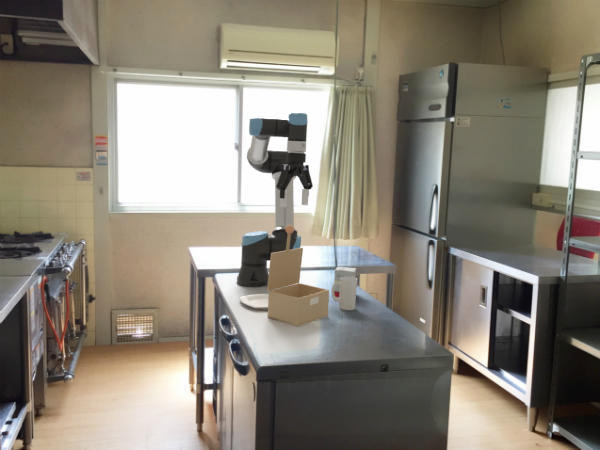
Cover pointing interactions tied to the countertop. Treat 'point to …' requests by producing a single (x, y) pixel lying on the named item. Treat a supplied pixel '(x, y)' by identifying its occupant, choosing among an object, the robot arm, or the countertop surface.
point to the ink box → (342, 273)
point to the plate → (256, 301)
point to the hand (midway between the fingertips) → (294, 205)
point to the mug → (346, 293)
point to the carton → (298, 304)
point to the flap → (285, 265)
